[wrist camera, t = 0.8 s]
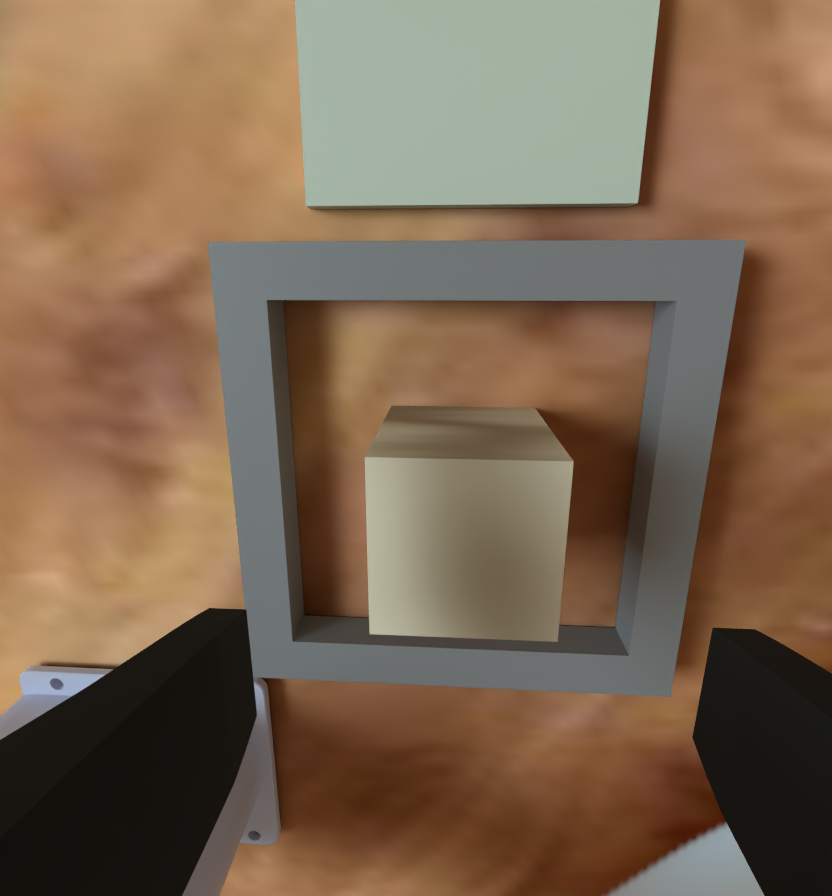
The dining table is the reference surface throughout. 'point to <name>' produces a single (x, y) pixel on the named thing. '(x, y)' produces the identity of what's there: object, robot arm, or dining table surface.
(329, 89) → the green pad
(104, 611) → the dining table surface
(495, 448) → the maple block
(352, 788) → the dining table surface
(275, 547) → the frame
